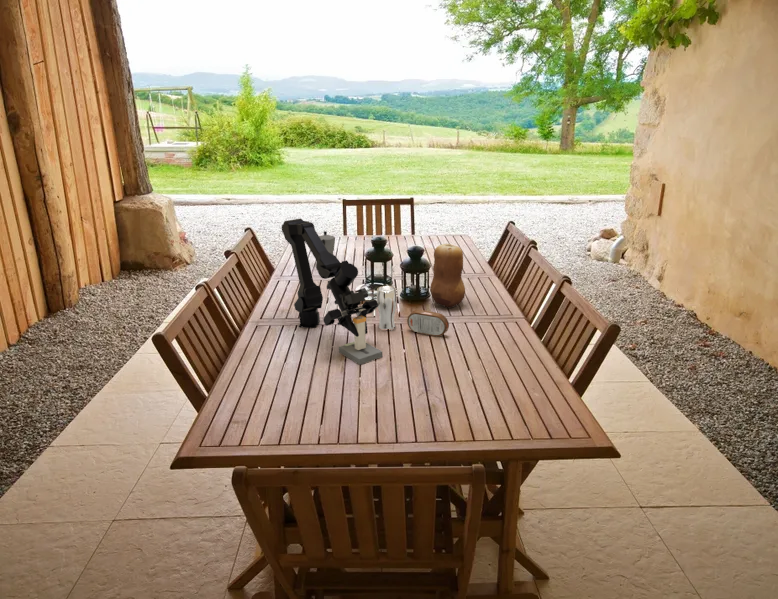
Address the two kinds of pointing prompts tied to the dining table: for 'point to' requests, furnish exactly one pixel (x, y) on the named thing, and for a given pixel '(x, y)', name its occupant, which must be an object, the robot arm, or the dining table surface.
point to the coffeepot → (328, 242)
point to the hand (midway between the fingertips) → (362, 334)
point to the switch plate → (360, 353)
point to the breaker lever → (360, 332)
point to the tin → (428, 322)
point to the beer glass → (386, 306)
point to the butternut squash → (447, 276)
